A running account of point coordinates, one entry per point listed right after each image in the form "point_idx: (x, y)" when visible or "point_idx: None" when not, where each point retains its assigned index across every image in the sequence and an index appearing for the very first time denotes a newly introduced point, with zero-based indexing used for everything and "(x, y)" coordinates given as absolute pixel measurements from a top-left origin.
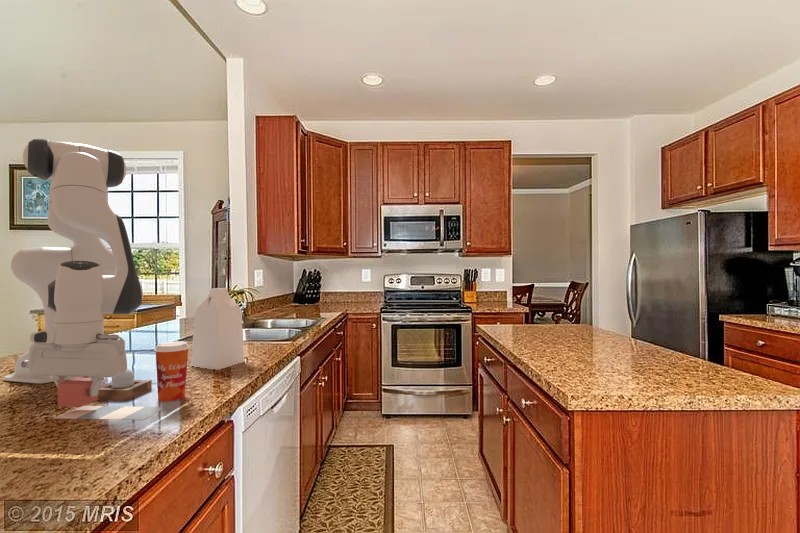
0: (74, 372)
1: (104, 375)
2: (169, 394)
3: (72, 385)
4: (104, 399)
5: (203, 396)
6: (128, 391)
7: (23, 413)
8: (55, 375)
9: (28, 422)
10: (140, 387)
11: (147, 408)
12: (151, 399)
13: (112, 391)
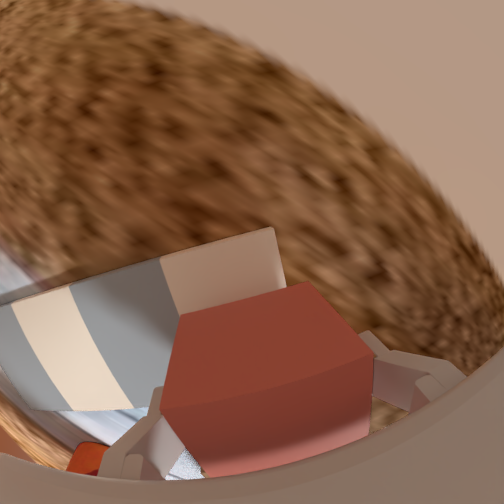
0: (262, 500)
1: (20, 465)
2: (72, 460)
3: (234, 389)
4: None
5: None
6: (202, 470)
7: (442, 252)
8: (451, 388)
9: (352, 185)
10: None
11: (53, 399)
12: None
13: None
